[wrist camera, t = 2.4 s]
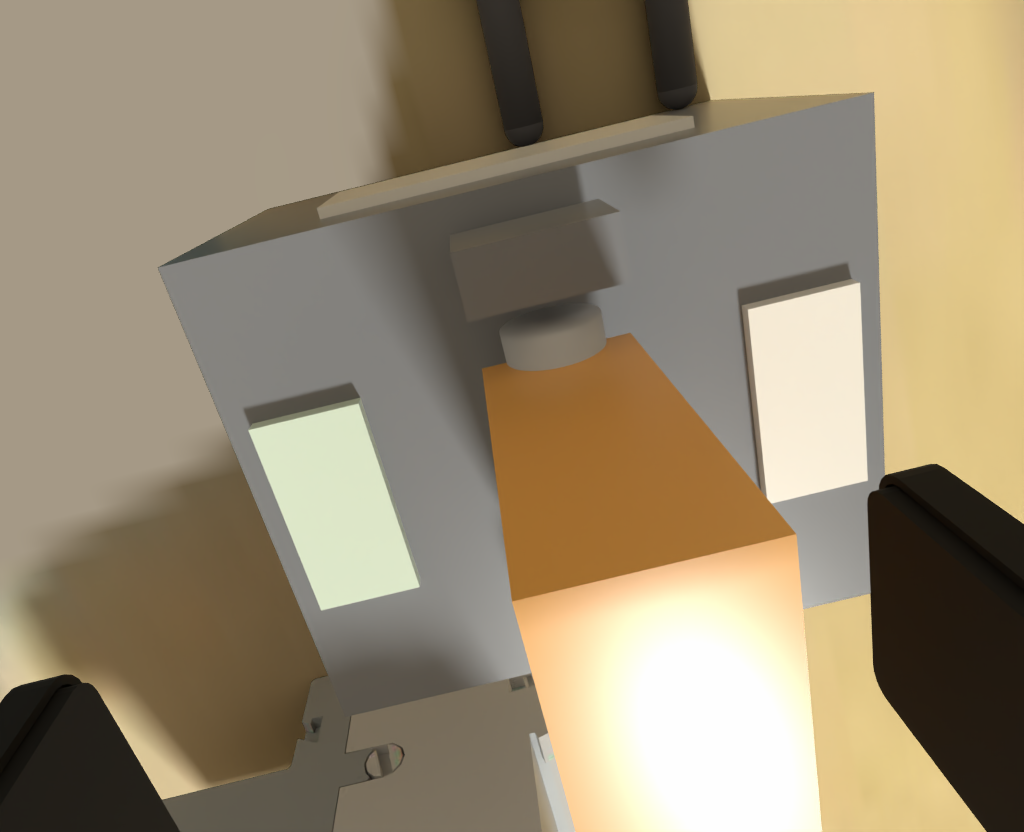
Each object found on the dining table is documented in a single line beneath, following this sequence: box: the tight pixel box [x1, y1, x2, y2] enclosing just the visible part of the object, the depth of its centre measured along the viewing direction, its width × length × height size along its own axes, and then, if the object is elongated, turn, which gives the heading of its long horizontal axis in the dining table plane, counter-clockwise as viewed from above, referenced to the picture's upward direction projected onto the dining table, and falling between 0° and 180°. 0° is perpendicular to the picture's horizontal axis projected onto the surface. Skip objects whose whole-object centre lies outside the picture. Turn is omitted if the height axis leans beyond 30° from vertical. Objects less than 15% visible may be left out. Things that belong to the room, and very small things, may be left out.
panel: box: [158, 92, 885, 717], centre depth 17 cm, size 12×10×10 cm
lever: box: [482, 303, 822, 832], centre depth 10 cm, size 2×6×7 cm, turn 13°
